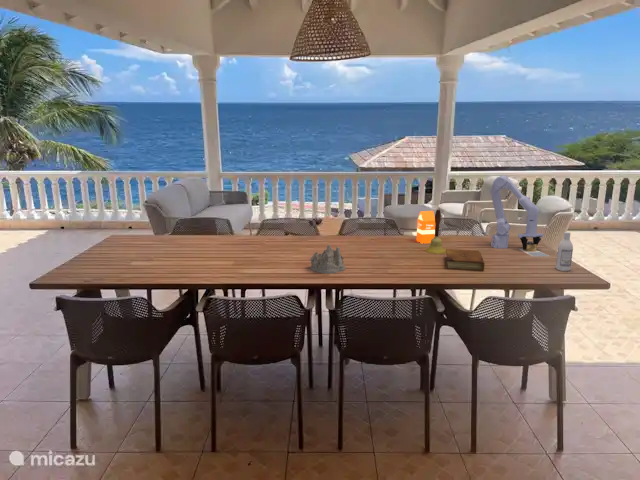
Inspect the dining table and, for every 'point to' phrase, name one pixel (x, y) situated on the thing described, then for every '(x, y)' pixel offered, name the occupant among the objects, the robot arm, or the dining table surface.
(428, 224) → the orange juice
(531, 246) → the collar
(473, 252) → the diary
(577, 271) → the dining table surface
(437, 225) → the handbell
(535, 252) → the board
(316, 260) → the grey sandcastle
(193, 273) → the dining table surface
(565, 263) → the bath foam
